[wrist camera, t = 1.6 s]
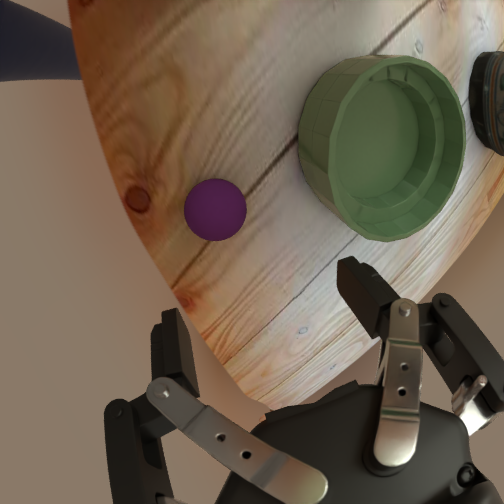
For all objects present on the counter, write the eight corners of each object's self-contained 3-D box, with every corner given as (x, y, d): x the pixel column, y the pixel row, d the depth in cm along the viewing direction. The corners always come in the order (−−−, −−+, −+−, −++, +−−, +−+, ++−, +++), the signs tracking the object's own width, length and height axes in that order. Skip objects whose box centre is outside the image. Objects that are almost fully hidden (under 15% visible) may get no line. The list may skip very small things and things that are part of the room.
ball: (170, 199, 24) (171, 225, 20) (213, 159, 23) (223, 177, 19) (209, 233, 27) (218, 264, 23) (250, 198, 26) (266, 222, 22)
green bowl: (257, 120, 22) (283, 132, 17) (388, 30, 19) (431, 29, 14) (346, 242, 32) (375, 272, 27) (440, 156, 29) (476, 173, 24)
